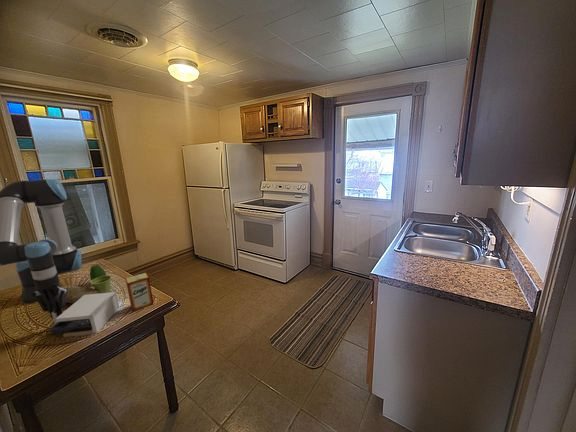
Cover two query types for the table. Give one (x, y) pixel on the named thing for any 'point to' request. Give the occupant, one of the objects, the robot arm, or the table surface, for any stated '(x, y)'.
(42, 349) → the table surface
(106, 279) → the plant pot
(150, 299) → the baking soda box
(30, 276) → the robot arm
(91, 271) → the avocado
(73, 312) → the white box
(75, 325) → the tray
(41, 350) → the table surface
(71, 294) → the sponge
